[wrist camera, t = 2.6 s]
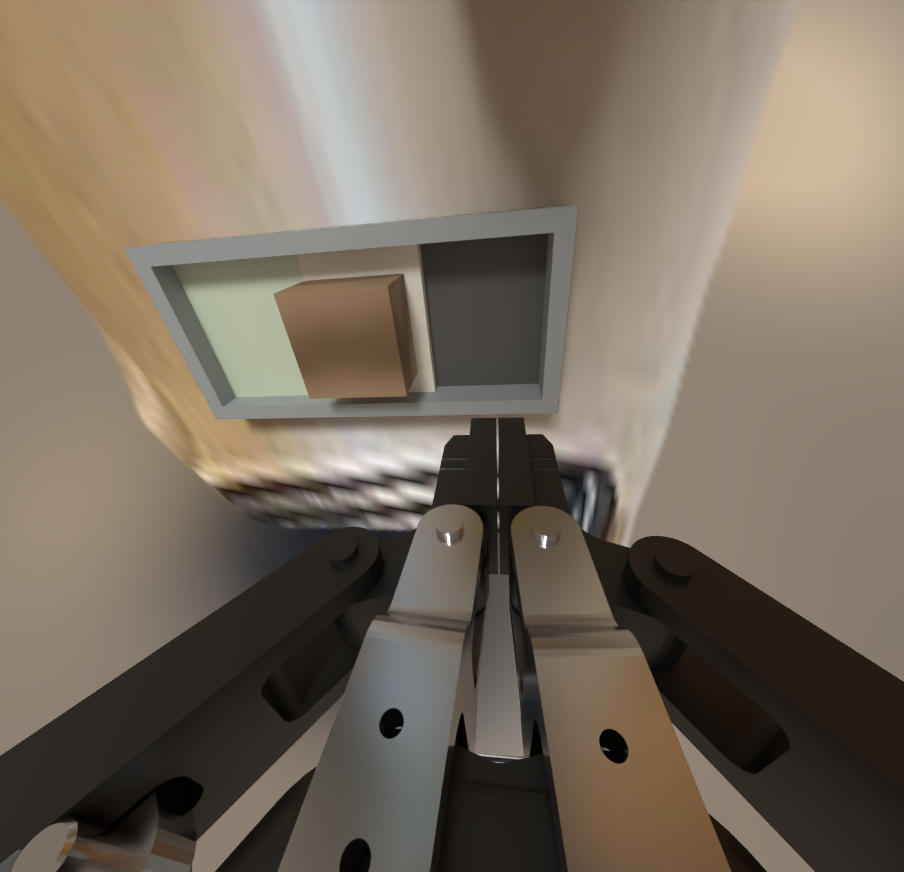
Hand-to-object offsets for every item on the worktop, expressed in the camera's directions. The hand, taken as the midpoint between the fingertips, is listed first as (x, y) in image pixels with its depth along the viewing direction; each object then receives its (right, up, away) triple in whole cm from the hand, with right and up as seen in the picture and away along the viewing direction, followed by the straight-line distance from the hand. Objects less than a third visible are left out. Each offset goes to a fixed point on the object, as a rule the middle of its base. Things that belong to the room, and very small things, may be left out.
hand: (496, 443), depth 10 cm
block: (-7, +7, +11) cm, 15 cm away
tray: (-7, +8, +12) cm, 16 cm away
